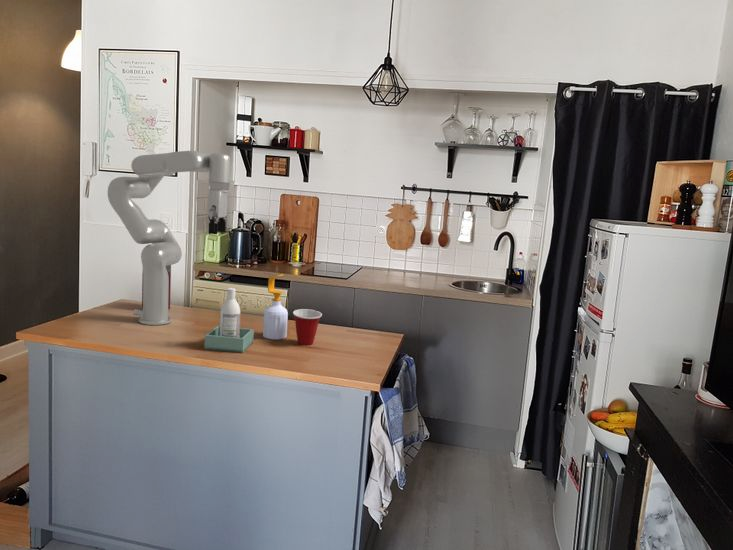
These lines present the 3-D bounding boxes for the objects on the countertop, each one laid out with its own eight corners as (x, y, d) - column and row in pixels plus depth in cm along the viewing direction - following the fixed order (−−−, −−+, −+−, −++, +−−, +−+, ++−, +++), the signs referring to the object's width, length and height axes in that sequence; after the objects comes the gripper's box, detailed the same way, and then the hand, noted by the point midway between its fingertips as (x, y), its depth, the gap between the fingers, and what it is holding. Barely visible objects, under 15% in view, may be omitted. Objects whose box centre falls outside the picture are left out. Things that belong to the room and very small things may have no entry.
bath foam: (242, 344, 207) (244, 290, 204) (224, 347, 203) (226, 291, 200) (233, 339, 213) (235, 286, 210) (215, 342, 208) (217, 287, 205)
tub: (204, 349, 202) (204, 335, 201) (217, 339, 215) (217, 326, 214) (242, 352, 201) (243, 338, 200) (253, 342, 214) (253, 329, 213)
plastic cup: (297, 348, 211) (299, 316, 209) (287, 340, 220) (288, 309, 219) (324, 346, 216) (326, 315, 214) (313, 338, 225) (315, 308, 224)
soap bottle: (279, 341, 218) (282, 277, 214) (258, 337, 221) (261, 274, 217) (290, 336, 227) (294, 274, 223) (270, 332, 230) (273, 271, 226)
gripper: (216, 186, 225) (215, 230, 228) (200, 186, 208) (199, 234, 211) (235, 187, 225) (233, 231, 228) (221, 188, 208) (219, 235, 211)
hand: (217, 232), depth 219 cm, fingers open, 9 cm apart
